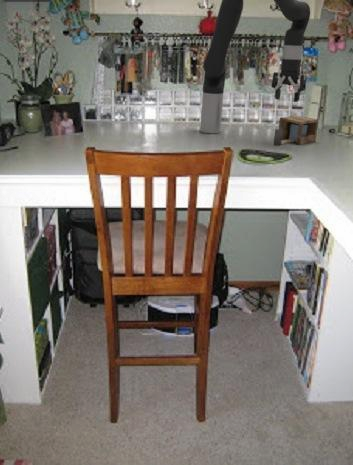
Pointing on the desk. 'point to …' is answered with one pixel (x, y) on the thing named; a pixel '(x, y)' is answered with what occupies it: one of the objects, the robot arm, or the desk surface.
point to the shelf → (299, 128)
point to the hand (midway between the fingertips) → (286, 100)
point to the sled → (292, 134)
